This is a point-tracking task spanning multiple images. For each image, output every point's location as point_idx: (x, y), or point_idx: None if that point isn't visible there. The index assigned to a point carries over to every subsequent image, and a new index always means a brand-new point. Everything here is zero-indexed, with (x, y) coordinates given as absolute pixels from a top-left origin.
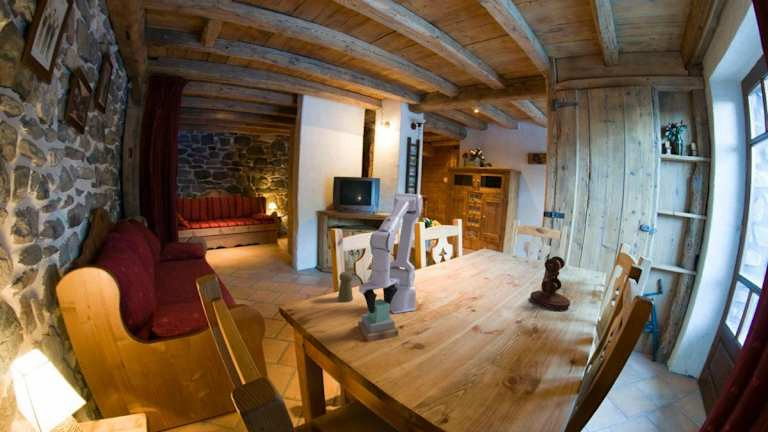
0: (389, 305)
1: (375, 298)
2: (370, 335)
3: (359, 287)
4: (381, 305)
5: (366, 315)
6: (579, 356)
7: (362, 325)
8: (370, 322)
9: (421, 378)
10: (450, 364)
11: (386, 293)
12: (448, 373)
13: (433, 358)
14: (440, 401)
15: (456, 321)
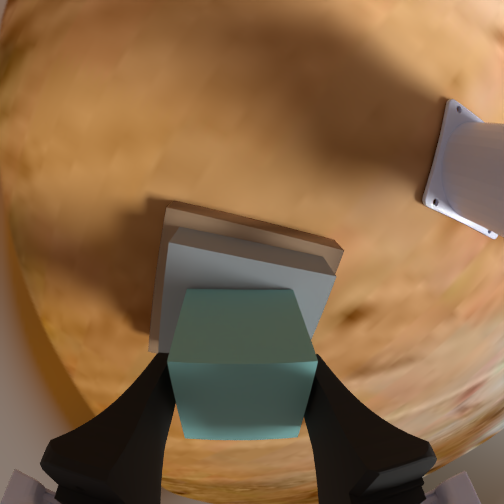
0: (290, 433)
1: (158, 490)
2: (156, 352)
3: (6, 498)
4: (232, 431)
5: (189, 270)
6: (447, 462)
7: (162, 265)
8: (169, 345)
9: (204, 465)
10: (293, 465)
11: (330, 456)
12: (264, 473)
13: (280, 450)
14: (197, 486)
15: (484, 354)
